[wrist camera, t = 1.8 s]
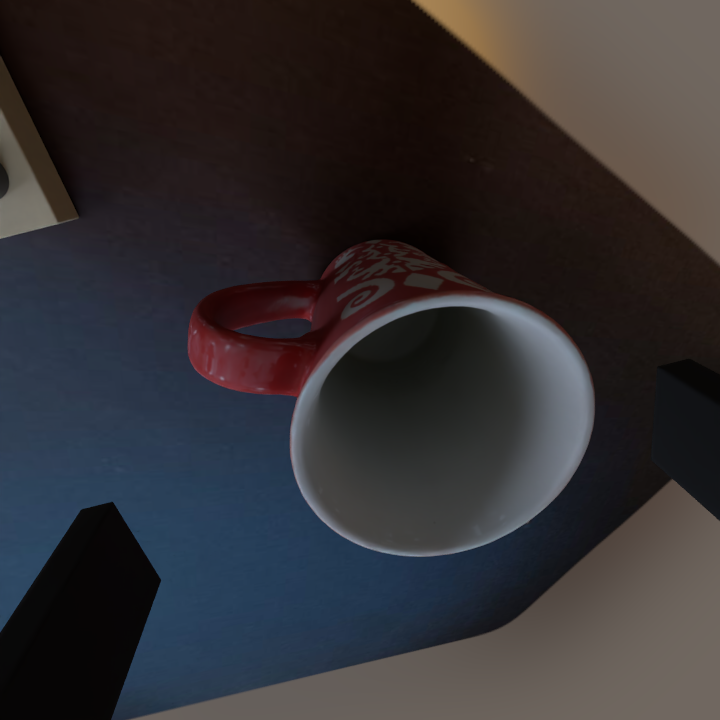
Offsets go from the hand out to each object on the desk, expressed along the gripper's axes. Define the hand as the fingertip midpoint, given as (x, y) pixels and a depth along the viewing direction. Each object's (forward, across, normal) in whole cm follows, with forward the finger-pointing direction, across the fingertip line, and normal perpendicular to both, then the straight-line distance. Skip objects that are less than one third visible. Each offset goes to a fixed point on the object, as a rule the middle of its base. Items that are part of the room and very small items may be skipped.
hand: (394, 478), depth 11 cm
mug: (+16, 0, 0) cm, 16 cm away
